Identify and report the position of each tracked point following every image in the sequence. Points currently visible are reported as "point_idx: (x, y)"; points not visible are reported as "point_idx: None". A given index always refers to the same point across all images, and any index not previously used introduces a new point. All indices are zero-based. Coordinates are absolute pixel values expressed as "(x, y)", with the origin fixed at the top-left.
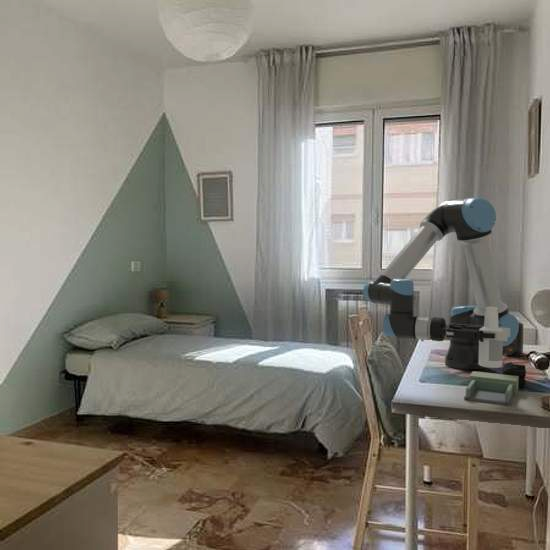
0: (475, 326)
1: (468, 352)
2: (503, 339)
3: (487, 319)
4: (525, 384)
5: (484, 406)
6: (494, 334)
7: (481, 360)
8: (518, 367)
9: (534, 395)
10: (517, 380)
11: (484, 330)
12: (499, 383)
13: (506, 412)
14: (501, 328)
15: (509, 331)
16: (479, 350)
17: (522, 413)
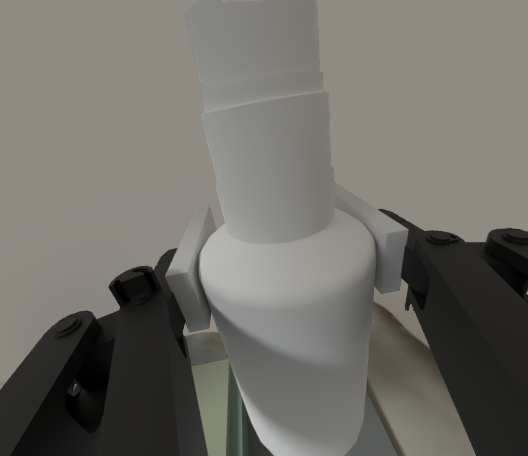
0: (129, 400)
1: None
2: None
3: (327, 145)
4: None
5: (438, 434)
6: (382, 212)
7: (363, 410)
8: (72, 388)
9: (218, 347)
10: (201, 367)
11: (400, 229)
12: (242, 420)
13: (418, 355)
14: (205, 224)
15: (213, 219)
16: (351, 402)
17: (385, 326)
